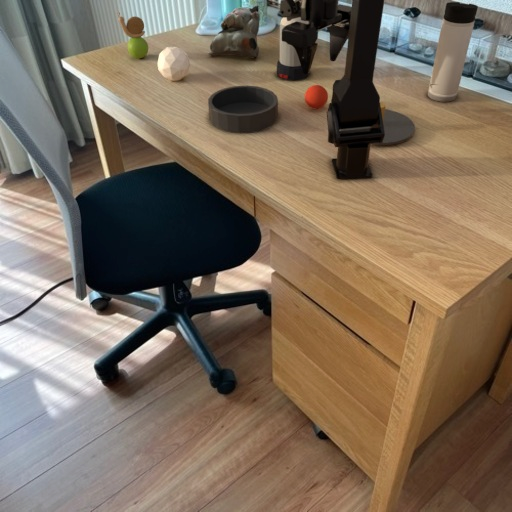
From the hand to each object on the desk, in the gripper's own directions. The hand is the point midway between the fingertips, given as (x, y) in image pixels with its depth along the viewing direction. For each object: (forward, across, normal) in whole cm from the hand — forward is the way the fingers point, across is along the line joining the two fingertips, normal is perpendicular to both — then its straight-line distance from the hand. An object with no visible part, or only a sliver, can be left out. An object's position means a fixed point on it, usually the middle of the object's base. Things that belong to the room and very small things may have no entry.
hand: (319, 67), depth 110 cm
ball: (+7, 0, 0) cm, 7 cm away
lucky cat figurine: (+9, -11, -36) cm, 39 cm away
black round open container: (+9, +14, -10) cm, 19 cm away
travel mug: (+9, -23, +18) cm, 30 cm away
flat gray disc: (+8, 0, +15) cm, 17 cm away
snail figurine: (+9, +6, -55) cm, 56 cm away
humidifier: (+9, -11, -16) cm, 22 cm away
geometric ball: (+9, +9, -36) cm, 39 cm away
